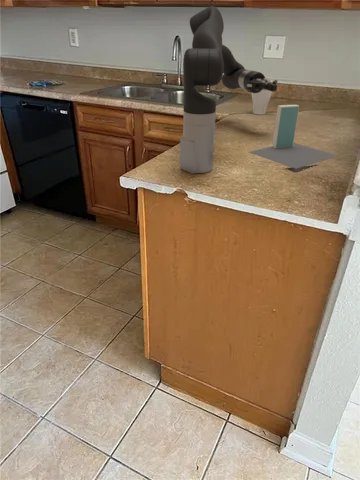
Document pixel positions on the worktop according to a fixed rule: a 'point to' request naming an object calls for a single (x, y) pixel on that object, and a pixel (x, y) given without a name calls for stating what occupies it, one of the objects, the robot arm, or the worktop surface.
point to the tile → (285, 126)
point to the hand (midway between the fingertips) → (274, 88)
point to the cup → (260, 101)
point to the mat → (294, 156)
